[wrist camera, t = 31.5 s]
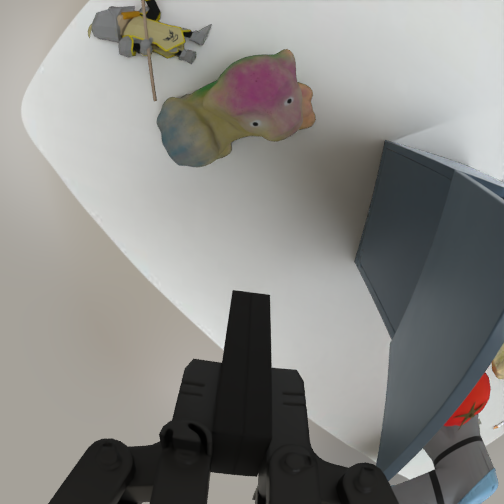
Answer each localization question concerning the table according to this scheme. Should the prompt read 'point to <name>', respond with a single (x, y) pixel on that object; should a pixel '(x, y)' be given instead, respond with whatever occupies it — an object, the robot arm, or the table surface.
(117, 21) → the toy
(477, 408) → the tomato
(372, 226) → the storage box
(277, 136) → the sculpture
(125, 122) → the table surface
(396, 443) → the lid
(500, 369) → the lettuce
